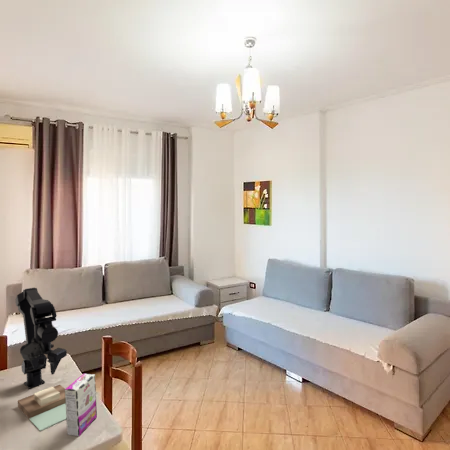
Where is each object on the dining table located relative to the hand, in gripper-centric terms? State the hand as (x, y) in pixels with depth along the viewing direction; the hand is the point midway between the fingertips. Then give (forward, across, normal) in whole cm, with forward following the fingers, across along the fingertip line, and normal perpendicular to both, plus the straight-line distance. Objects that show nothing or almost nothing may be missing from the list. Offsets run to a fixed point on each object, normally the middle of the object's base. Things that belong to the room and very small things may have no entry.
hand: (44, 371), depth 140 cm
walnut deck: (+11, +3, -2) cm, 12 cm away
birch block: (+9, +4, -3) cm, 10 cm away
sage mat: (+11, +13, -6) cm, 18 cm away
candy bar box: (+11, +26, -8) cm, 30 cm away
